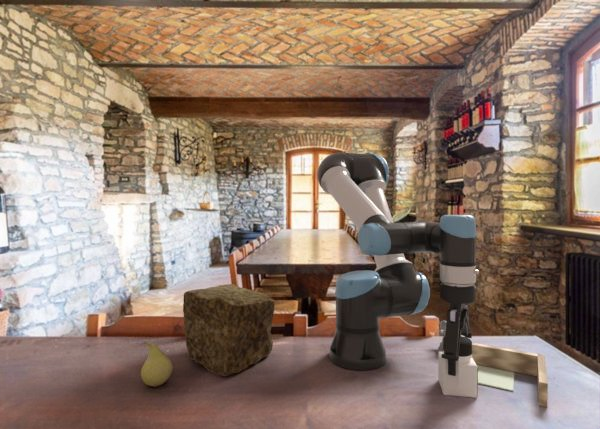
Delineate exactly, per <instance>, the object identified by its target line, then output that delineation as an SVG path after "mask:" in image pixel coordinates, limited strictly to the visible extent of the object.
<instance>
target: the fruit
mask: <svg viewBox="0 0 600 429" xmlns="http://www.w3.org/2000/svg"><path fill="white" fill-rule="evenodd" d="M142 344H144V345H148V355H147V358H146V360H145V361H144V364H143V365H142V367H141V370H140V377H141V379H142V381H143V382H144V383H145V384H146V385H147V386H149V387H154V388H155V387H157V386H158V387H159V386H161V385H163V384H164V383H166V382H167V380H168V379H169V378H170V377H171V375H172V372H173V364H172V361H171V360H170V359H169V358H168V356H166V354H165V353H164V352H163V351H162V350H161V348H159V346H158V345H156V344H155V343H153V342H151V343H150V342H147V341H146V340H142Z"/></svg>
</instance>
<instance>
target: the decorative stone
mask: <svg viewBox="0 0 600 429" xmlns="http://www.w3.org/2000/svg"><path fill="white" fill-rule="evenodd" d="M182 311H183V312H182V313H183V328H184V336H185V346H186V350H187V351H188V352H187V354H188V355H187V357H188V359H189V360H193V361H195V362H196V363H197V364H198V365H202V366H203V367H204V368H205V369H206V370H208V372H209V373H213V374H216V375H219V376H223V377H228V376H229V375H231V374H235V373H236V374H237V373H239V372H241V371H243V370H245V369H247V368H249V366H250V365H254V364H257V363H258V362H259V361H260V360H261V359H263V358H265V357H269V356H270V355H271V353H272V350H273V345H274V342H273V341H274V340H273V335H272V333H271V330H272V324H273V319H274V316H275V300H274V299H273V297H272V298H271V297H270V296H269V295H267V294H266V293H262V292H258V291H255V290H252V289H248V288H245V287H241V286H239V285H237V284H234V283H231V284H222V285H216V286H211V287H206V288H199V289H192V290H187V291H184V293H183V306H182Z"/></svg>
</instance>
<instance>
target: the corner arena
mask: <svg viewBox="0 0 600 429" xmlns="http://www.w3.org/2000/svg"><path fill="white" fill-rule="evenodd" d="M472 358H473V360H474V361H475V363H476V365H479V366H484V367H489V368H494V369H499V370H504V371H509V372H514V373H519V374H523V375H530V376H534V377H536V378H537V380H536V381H537V398H538V406H539V407H543V408H544V407H545V408H548V398H549V396H548V393H549V392H548V390H549V389H548V388H549V386H548V385H549V384H548V375H547V366H546V356H545V354H539V353H534V352H528V351H522V350H516V349H512V348H506V347H500V346H493V345H489V344H482V343H476V342H472Z"/></svg>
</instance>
